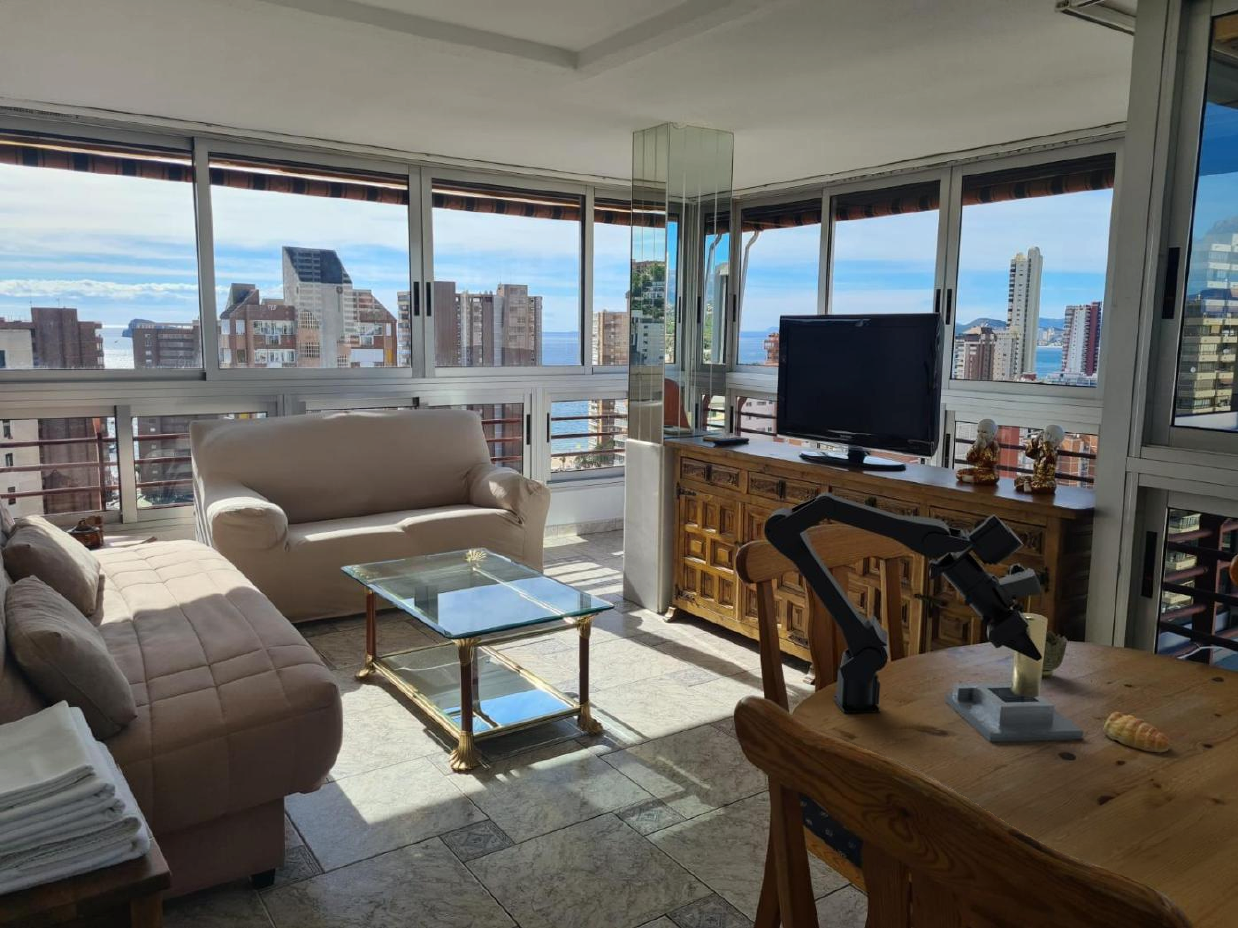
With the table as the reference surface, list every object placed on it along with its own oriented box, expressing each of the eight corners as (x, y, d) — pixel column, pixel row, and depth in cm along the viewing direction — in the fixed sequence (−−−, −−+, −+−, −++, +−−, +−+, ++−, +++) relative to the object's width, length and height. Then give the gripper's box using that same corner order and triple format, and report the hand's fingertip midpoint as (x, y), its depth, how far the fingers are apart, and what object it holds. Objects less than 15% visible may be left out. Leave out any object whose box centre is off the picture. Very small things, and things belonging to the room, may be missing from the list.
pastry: (1176, 747, 147) (1179, 725, 147) (1158, 759, 143) (1161, 737, 143) (1117, 726, 155) (1119, 705, 154) (1098, 737, 151) (1100, 716, 150)
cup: (1055, 669, 180) (1059, 630, 179) (1069, 683, 173) (1073, 643, 171) (1016, 666, 181) (1019, 628, 179) (1029, 681, 173) (1033, 641, 172)
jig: (989, 741, 148) (991, 715, 147) (945, 701, 163) (947, 677, 163) (1082, 739, 149) (1084, 713, 149) (1029, 699, 165) (1031, 675, 164)
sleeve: (1027, 698, 149) (1035, 622, 147) (1005, 688, 152) (1012, 614, 150) (1045, 694, 151) (1053, 619, 149) (1023, 684, 154) (1030, 611, 152)
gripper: (1019, 566, 140) (1090, 644, 139) (1007, 540, 158) (1070, 609, 156) (960, 609, 144) (1029, 685, 142) (955, 578, 161) (1016, 646, 160)
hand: (1038, 654), depth 150 cm, fingers closed on sleeve, 4 cm apart
